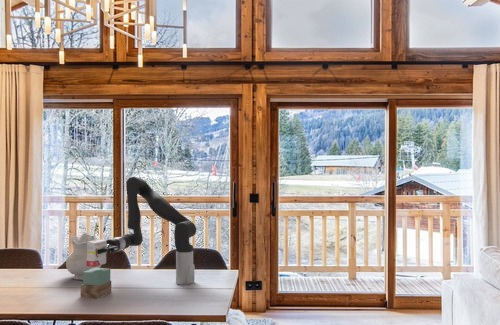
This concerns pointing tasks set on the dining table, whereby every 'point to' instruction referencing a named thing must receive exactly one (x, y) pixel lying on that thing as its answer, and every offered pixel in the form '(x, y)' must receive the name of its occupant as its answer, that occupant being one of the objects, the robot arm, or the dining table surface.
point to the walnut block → (95, 290)
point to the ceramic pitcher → (79, 256)
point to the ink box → (95, 253)
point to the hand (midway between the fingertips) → (93, 251)
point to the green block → (96, 276)
